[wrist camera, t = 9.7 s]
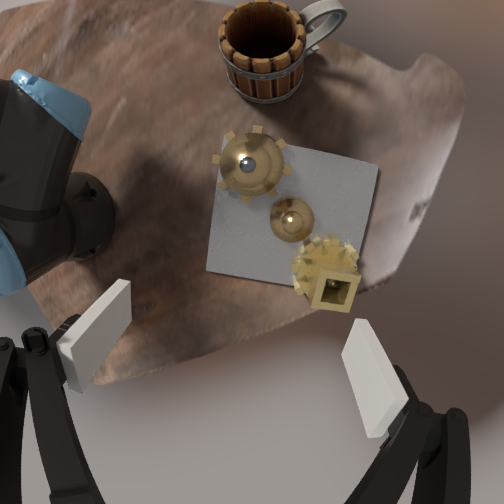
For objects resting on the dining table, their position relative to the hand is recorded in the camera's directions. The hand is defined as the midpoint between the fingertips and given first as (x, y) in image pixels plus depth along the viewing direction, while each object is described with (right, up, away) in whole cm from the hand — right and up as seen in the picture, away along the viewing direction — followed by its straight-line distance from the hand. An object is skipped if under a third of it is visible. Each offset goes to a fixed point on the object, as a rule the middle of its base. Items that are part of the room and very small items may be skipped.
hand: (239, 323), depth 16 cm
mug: (+5, +31, +19) cm, 36 cm away
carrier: (+6, +9, +26) cm, 28 cm away
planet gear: (+11, +1, +26) cm, 29 cm away
